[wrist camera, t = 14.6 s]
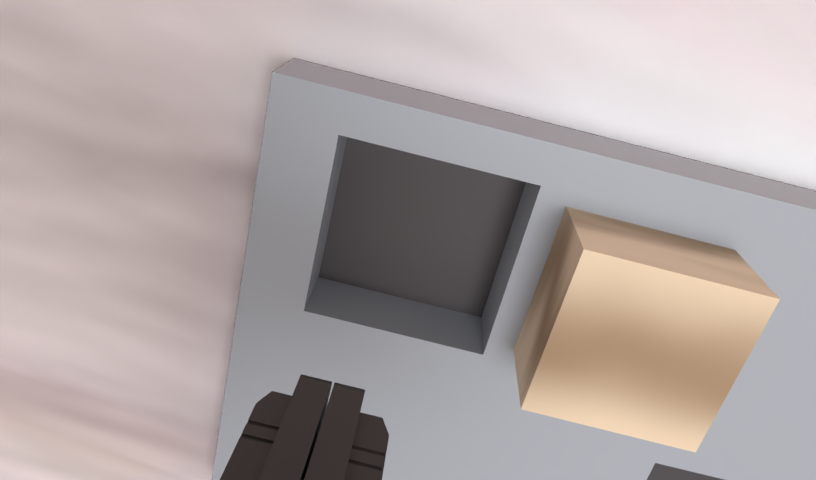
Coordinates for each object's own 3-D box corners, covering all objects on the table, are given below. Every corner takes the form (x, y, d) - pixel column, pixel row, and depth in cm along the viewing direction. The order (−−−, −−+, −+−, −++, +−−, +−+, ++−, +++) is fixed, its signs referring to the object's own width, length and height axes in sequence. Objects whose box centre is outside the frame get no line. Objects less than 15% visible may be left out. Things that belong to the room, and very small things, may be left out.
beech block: (566, 206, 22) (583, 248, 19) (735, 249, 23) (780, 299, 19) (513, 350, 25) (520, 409, 22) (665, 388, 25) (695, 452, 22)
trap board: (293, 58, 24) (261, 78, 20) (1120, 268, 25) (1240, 326, 21) (228, 465, 32) (196, 535, 28) (852, 613, 33) (903, 701, 29)
